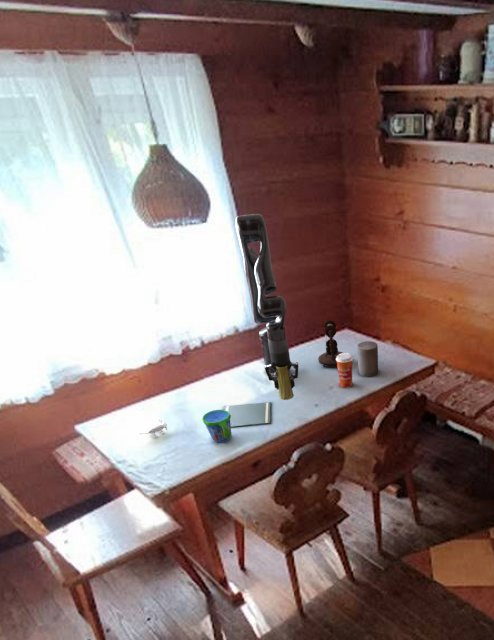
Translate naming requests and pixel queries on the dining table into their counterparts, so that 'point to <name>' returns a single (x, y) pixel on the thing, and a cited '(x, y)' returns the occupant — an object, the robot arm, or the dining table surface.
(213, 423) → the snack cup
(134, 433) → the dining table surface
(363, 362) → the pillar candle
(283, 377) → the vase
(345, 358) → the paper cup
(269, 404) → the green board
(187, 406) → the dining table surface
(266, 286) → the robot arm
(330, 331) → the dark brown sculpture
